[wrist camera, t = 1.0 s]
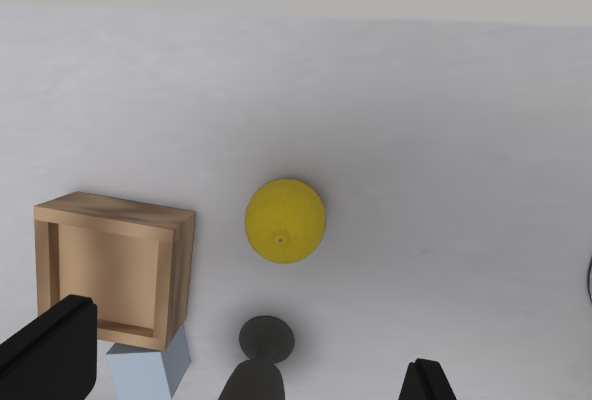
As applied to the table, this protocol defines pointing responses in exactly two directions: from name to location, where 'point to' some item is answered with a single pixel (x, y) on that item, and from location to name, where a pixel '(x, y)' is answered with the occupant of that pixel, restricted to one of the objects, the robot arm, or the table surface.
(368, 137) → the table surface
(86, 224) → the wooden open box
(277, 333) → the sundae
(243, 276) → the table surface
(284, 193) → the lemon
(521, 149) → the table surface
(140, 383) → the slate cube
